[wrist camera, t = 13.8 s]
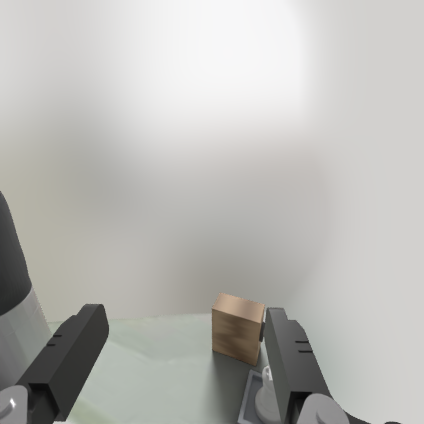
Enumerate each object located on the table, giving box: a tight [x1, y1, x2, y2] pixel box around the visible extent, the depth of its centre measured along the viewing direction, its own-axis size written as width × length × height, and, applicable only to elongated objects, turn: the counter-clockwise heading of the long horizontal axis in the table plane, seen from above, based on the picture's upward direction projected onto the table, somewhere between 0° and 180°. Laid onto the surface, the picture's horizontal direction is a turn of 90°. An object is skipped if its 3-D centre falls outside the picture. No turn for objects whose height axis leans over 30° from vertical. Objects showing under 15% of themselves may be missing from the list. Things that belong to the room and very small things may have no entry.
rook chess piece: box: [254, 365, 282, 424], centre depth 31 cm, size 4×4×8 cm
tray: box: [237, 369, 265, 424], centre depth 32 cm, size 7×7×2 cm
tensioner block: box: [212, 293, 265, 366], centre depth 39 cm, size 9×4×10 cm, turn 68°
